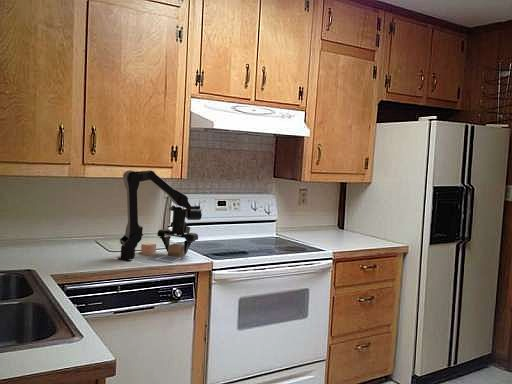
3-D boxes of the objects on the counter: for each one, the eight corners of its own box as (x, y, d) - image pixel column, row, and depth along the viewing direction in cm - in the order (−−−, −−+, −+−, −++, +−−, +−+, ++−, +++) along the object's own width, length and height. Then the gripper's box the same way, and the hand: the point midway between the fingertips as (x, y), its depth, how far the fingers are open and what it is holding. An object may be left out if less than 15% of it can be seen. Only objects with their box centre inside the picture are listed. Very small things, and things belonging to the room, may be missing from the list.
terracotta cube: (150, 256, 228) (150, 245, 227) (140, 254, 230) (141, 244, 229) (155, 254, 233) (156, 244, 232) (146, 252, 234) (147, 242, 234)
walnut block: (179, 257, 226) (179, 247, 226) (167, 255, 228) (168, 245, 228) (185, 255, 232) (185, 245, 231) (173, 253, 234) (174, 243, 233)
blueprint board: (170, 264, 215) (170, 263, 215) (146, 260, 219) (146, 259, 219) (189, 257, 232) (189, 255, 232) (167, 253, 236) (167, 252, 236)
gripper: (204, 220, 233) (202, 252, 235) (169, 215, 239) (167, 247, 241) (193, 223, 223) (191, 257, 224) (157, 218, 229) (155, 251, 230)
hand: (176, 253), depth 230 cm, fingers open, 9 cm apart
